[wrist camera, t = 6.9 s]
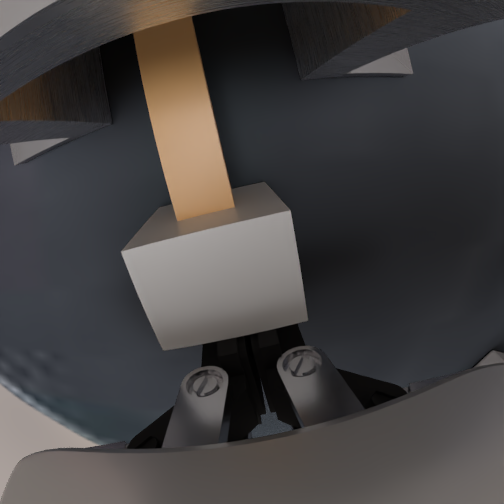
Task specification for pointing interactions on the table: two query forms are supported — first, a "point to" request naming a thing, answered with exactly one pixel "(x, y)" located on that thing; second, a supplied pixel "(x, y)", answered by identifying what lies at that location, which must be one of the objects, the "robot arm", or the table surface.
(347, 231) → the table surface
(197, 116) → the block ended dumbbell
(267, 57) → the table surface
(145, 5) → the block
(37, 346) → the table surface
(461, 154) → the table surface
